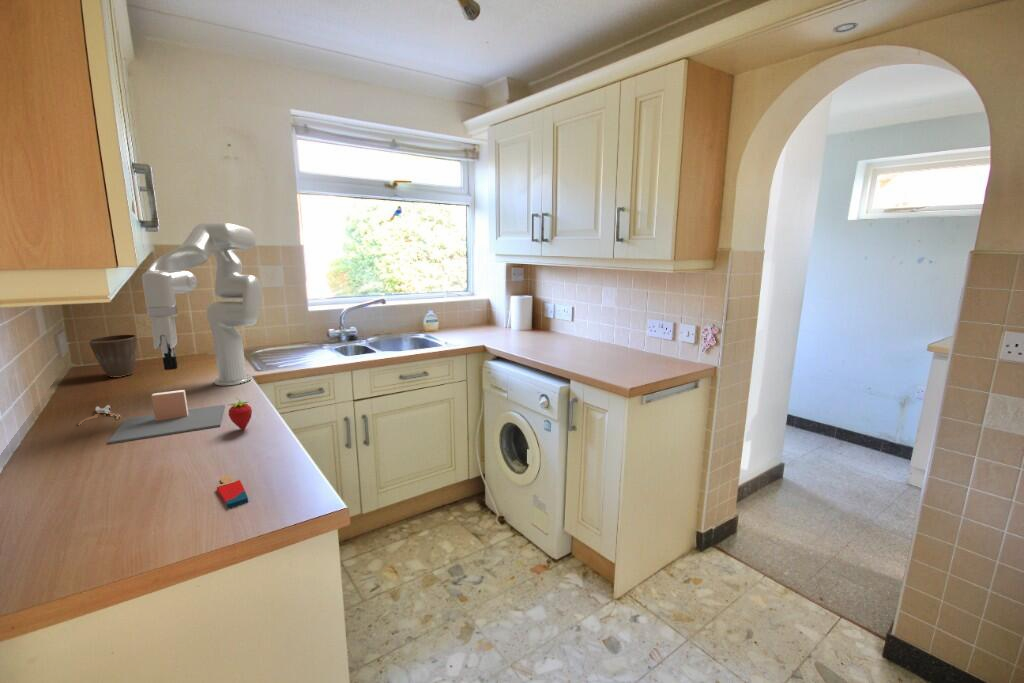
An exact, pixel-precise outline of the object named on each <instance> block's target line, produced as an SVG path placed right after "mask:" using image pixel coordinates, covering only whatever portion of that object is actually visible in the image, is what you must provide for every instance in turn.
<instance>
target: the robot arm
mask: <svg viewBox="0 0 1024 683" xmlns="http://www.w3.org/2000/svg"><path fill="white" fill-rule="evenodd" d="M256 240H257V239H256V236H255V233H254V232H253V231H252V230H251V229H250V228H248V227H246V226H242V225H237V224H234V223H230V222H202V223H198V224H197V225H195V227H193V228H192V230H191V232H190V233H189V235H188V236H187V237H186V239H185V240H184V242H182V244H181V246H179V247H177V248H175V249H173V250H171V251H169V252H167V253H165V254H163V255H161V256H160V257H157V258H156V259H155V260H154V261H152V263H151V264H150V265H149V267H148V268H147V270H146V271H145V272H144V273H143V274H142V276H141V280H142V286H143V293H144V294H143V295H144V299H145V306H146V312H147V318H149V319H151V332H152V341H153V342H152V344H153V349H154V350H156V351H157V350H159V349H161V355H162V362H163V369H164V371H171V370H177V369H178V362H177V355H176V350H175V349H176V348H175V347H176V346H177V345H178V334H177V333H178V332H177V328H176V321H175V317H178V316H179V315H178V314H179V312H178V307H177V301H176V294H189V293H192V292H193V291H194V290H195V289H196V288H197V286H198V280H197V278H196V275H195V274H194V273H193V272H191V271H189V270H188V269H193V268H196V267H199V266H201V265H204V264H206V263H207V261H208V260H209V258H210V257H211V255H212V253H213V256H214V258H215V260H216V272H215V278H214V279H215V281H214V293H215V296H216V297H217V298H220V299H222V300H242V301H215V302H213V303H210V304H209V305H208V306H207V308H206V311H205V313H206V318H207V321H208V324H209V327H210V330H211V334H212V340H213V346H214V353H215V359H216V368H217V375H218V377H217V378H216V379H214V384H215V385H217V386H222V387H223V386H235V385H241V384H245V383H248V382H250V381H251V380H252V375H250V374H247V366H246V360H245V351H244V344H243V343H244V342H243V336H242V334H241V332H240V331H239V330H238V329H237V327H252V326H254V325H256V324H257V322H258V320H259V316H260V307H261V299H262V298H261V297H262V285H261V282H260V280H259V278H258V277H256V276H255V275H253V274H252V275H251V274H243V264H242V260H240V258H239V257H238V255H236V254H235V252H234V251H250V250H253V249H254V248H255V245H256ZM249 380H250V381H249ZM247 381H248V382H247ZM244 382H245V383H244ZM240 383H241V384H240Z"/></svg>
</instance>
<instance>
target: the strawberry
mask: <svg viewBox="0 0 1024 683" xmlns="http://www.w3.org/2000/svg"><path fill="white" fill-rule="evenodd" d="M234 398H236V399H237V400H238V402H237V403H236V402H234V403H229V404H227V406H230V408H229V410H228V418H229V419H230V421H231V422H232V423H233V424H234V425H236V427H238V428H239V429H240V430H242V431H244V430H245V429H246V427H247V426H248V424H249V422H250V420H251V418H252V415H253V414H252V412H253V409H252V407H251V406H250V404H248V401H242V400H240V399H239V398H237V397H234Z"/></svg>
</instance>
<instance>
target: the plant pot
mask: <svg viewBox="0 0 1024 683" xmlns="http://www.w3.org/2000/svg"><path fill="white" fill-rule="evenodd" d="M137 338H138V336H137V335H135V334H117V335H107V336H102V337H96V338H92V339H90V340H88V343H89V345H90V348H91V350H92V352H93V354H94V356H95V358H96V360H97V362H98V364H99V365H100V366H101V369H102V370H103V372H104V373H105V374H106V375H107V376H112V377H113V376H122V375H127V374H130V373H132V372H134V369H135V365H136V364H135V363H136V357H137V350H138V349H137V346H138V343H137V342H138V339H137ZM132 374H133V373H132Z"/></svg>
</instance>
